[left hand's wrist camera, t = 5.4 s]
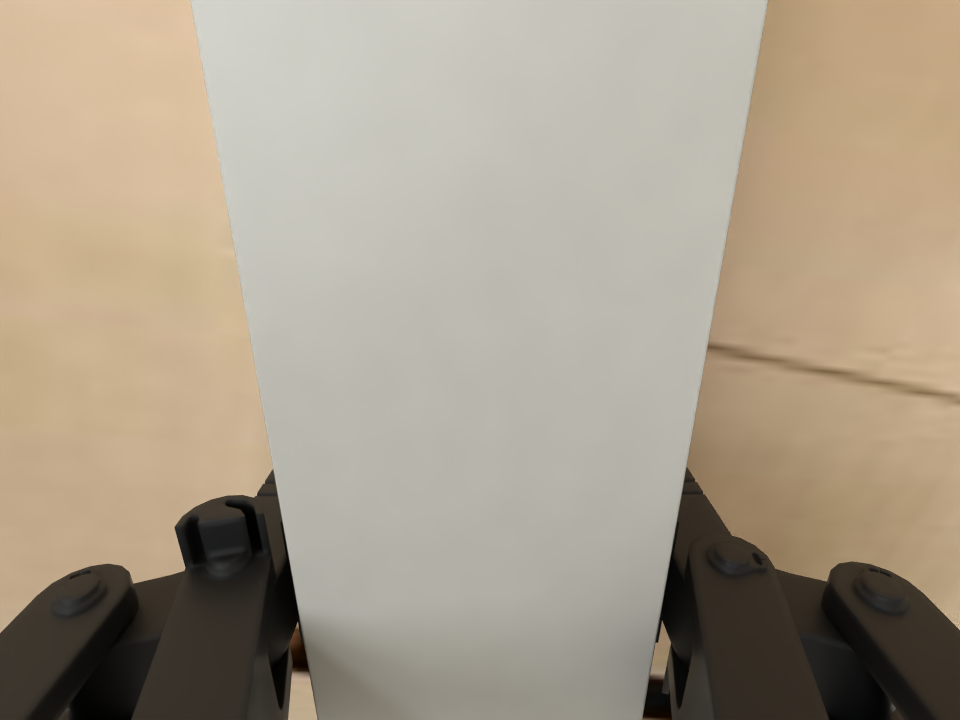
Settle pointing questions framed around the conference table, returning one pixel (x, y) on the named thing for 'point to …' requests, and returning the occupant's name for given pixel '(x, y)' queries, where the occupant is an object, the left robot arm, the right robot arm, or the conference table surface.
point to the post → (479, 326)
